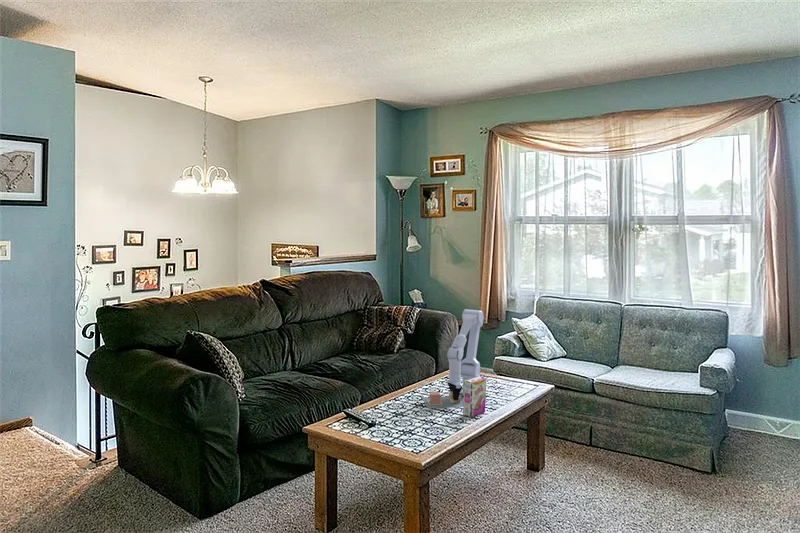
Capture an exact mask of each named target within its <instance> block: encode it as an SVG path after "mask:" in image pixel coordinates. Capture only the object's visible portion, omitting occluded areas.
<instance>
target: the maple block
mask: <svg viewBox="0 0 800 533" xmlns="http://www.w3.org/2000/svg"><path fill="white" fill-rule="evenodd" d="M448 395H449V396H448V397H449V401H450V402H451V403H460V397H461V394H460V395H459V399H458V400H454V399H453V392H452V391H450V390H449V392H448Z"/></svg>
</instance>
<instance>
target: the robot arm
mask: <svg viewBox="0 0 800 533" xmlns="http://www.w3.org/2000/svg"><path fill="white" fill-rule="evenodd" d="M484 315H485V314H484V312H483V311H482V310H476V309H468V308H465V309H464V310H463V311H462V315H461V316H462V317H461V319H462V323H461V327H460V330H459V333H458V334H457V335H455V338H454V339H453V340H454V341H453V343H452V345H451V347H449V348H448V350H447V353H446V357H447V361H448V363H449V364H448V366H449V368H448V370H449V371H448V379H447V380H446V383H447V385H448V389H449V391H452V392H453V399H454V400H458V399H459V395H460V396H461V395H462V396H463V397H464V381H465V380H469V379H472V378H476V377H480V374H481V363H480V361H478V360H477V352H478V344H479V337H480V331H481V328H482V327H483V325H484V318H485V316H484ZM468 333H469V336H468ZM467 336H468V342H467ZM466 343H467V347H466V348H467V349H466V354H465V355H466V356H465V358H464V359H463V357H464V348H465V346H466ZM461 378H462V380H461ZM461 383H462V384H461ZM461 385H462V386H461Z"/></svg>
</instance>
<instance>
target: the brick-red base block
mask: <svg viewBox="0 0 800 533" xmlns="http://www.w3.org/2000/svg"><path fill="white" fill-rule="evenodd" d="M440 397H441V393H440V392H439V391H432V392H429V398H430V403H431V404H440Z"/></svg>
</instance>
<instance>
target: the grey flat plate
mask: <svg viewBox="0 0 800 533" xmlns="http://www.w3.org/2000/svg"><path fill="white" fill-rule="evenodd" d="M421 398H422V402H424V404H425V406H426V407H427V408H428V409H440V408H442V409H443V408H444V409H445V408H446V409H447V408H462V407H463V403H464V398H462V397H461V396H460V403H451V402H450V401H449V396H440V404H431V403H430V397H421Z"/></svg>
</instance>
